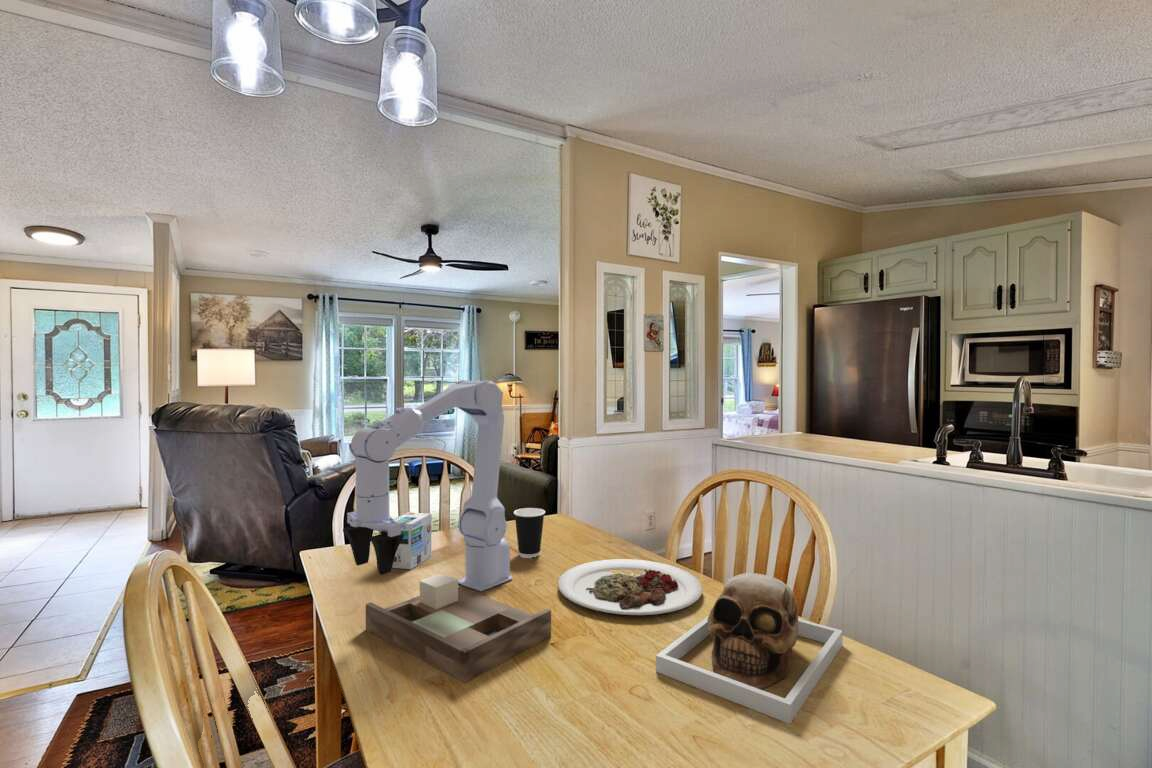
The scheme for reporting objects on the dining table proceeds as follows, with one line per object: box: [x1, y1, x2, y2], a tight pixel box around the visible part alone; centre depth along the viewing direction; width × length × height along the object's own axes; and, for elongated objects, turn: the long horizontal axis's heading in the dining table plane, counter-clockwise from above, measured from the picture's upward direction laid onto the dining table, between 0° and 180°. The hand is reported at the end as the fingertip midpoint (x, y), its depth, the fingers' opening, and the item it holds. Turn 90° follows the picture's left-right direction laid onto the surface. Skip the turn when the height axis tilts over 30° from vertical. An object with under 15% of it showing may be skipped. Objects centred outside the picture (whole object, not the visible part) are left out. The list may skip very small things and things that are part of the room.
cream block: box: [419, 573, 459, 609], centre depth 103 cm, size 5×5×4 cm
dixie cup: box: [513, 507, 546, 559], centre depth 138 cm, size 8×8×11 cm
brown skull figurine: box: [708, 572, 799, 690], centre depth 88 cm, size 16×18×14 cm
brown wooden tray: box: [365, 586, 552, 684], centre depth 96 cm, size 19×27×4 cm
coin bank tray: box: [655, 615, 843, 725], centre depth 88 cm, size 27×20×2 cm
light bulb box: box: [392, 511, 433, 570], centre depth 133 cm, size 11×7×11 cm, turn 168°
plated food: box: [557, 558, 703, 616], centre depth 116 cm, size 30×30×3 cm
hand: (373, 568), depth 100 cm, fingers open, 7 cm apart
